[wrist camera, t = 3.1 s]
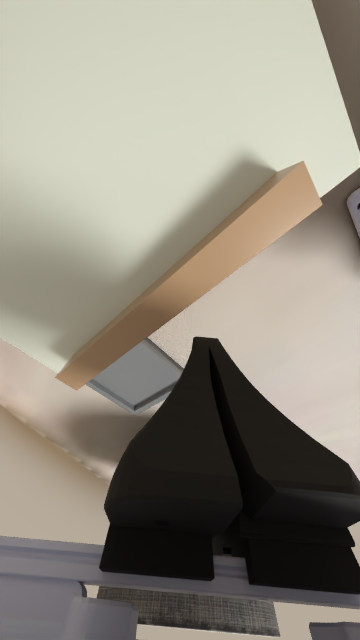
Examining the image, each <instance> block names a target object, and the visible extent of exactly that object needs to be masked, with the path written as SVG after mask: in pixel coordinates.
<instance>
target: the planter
mask: <svg viewBox="0 0 360 640" xmlns="http://www.w3.org/2000/svg"><path fill="white" fill-rule="evenodd" d="M97 599H104V600H112V601H120V602H128V603H131V604H132V606H135V607H137V608H138V611H139V614H138V622H137V625H149V626H159V627H169V628H181V629H191V630H202V631H213V632H223V633H235V634H247V635H257V636H268V637H280V633H279V628H278V623H277V618H276V614H275V609H274V604H273V601H262V600H251V599H240V598H229V597H218V596H207V595H196V594H185V593H174V592H163V591H152V590H141V589H130V588H118V587H107V586H99V590H98V594H97Z"/></svg>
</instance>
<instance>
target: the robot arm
mask: <svg viewBox="0 0 360 640" xmlns="http://www.w3.org/2000/svg"><path fill="white" fill-rule="evenodd" d="M359 203H360V188H358V189H357V190H355V191H354V192H353V193H352V194H351V195H350V196H349V197H348V199H347V206H348V209H349V211H350V214H351V217H352V219H353V222H354V224H355V227H356V230H357V232H358V235H359V237H360V208H359V209H357V206H358V204H359ZM104 509H105V512H106V515H107V517H108V519H109V522H110V526H109V530H108V533H107V537H106V541H105V545H95V544H84V543H73V542H61V541H50V540H40V539H28V538H18V537H6V536H0V640H136V629H137V622H138V614H139V611H138V608H137V607H135V606H132V604H131V603H128V602H120V601H112V600H104V599H96V598H87V591H86V588H85V586H84V585H83V584H86V585H97V586H107V587H118V588H130V589H141V590H152V591H163V592H174V593H185V594H196V595H207V596H218V597H229V598H240V599H251V600H262V601H273V602H284V603H285V602H286V603H295V604H306V605H318V606H329V607H340V608H351V609H360V566H359V564H358V562H357V560H356V558H355V556H354V554H353V552H352V549H351V547H355V542H354V540H353V538H352V536H351V534H350V532H349V530H348V528H347V527H349V526H351V525H353V524H355V523H357V522H359V521H360V481H359V480H358V478H357V476H356V475H355V473H354V472H353V470H352V469H351V467H350V466H349V464H348V463H347V462H345V461H344V460H342V459H341V458H340V457H338V456H337V455H335V454H334V453H333V452H331V451H330V450H328V449H327V448H326V447H324V446H323V445H321V444H320V443H319V442H317V441H316V440H314V439H313V438H312V437H310V436H309V435H308V434H307V433H305V432H304V431H303V430H302V429H300V428H299V427H298V426H296V425H295V424H294V423H293V422H292V421H290V420H289V419H288V418H287V417H286V416H284V415H283V414H282V413H281V412H280V411H279V410H278V409H276V408H275V407H274V406H273V405H272V404H271V403H270V402H269V401H268V400H267V399H266V398H265V397H264V396H263V395H262V394H261V393H260V392H259V391H258V390H257V389H256V388H255V387H254V386H253V385H252V384H251V383H250V382H249V381H248V379H247V378H246V377H245V376H244V375H243V373H242V372H241V371H240V370H239V368H238V367H237V366H236V364H235V363H234V362H233V360H232V359H231V358H230V356H229V355H228V353H227V352H226V351H225V349H224V348H223V346H222V344H221V343H220V341H219V340H218V339H217V338H206V337H194V338H193V344H192V351H191V354H190V356H189V359H188V361H187V364H186V366H185V368H184V370H183V372H182V374H181V376H180V378H179V380H178V381H177V383H176V385H175V386H174V388H173V389H172V391H171V392H170V394H169V395H168V397H167V398H166V400H165V401H164V403H163V404H162V405H161V407H160V408H159V409H158V410H157V412H156V413H155V414H154V416H153V417H152V418H151V419H150V421H149V422H148V423H147V424H146V425H145V426H144V427H143V429H142V430H141V431H140V432H139V433H138V434H137V435H136V436H135V437H134V439H133V440H132V441H131V442H130V443H129V445H128V447H127V449H126V451H125V452H124V454H123V456H122V458H121V460H120V462H119V464H118V466H117V468H116V470H115V472H114V475H113V478H112V480H111V483H110V486H109V490H108V493H107V497H106V500H105V504H104ZM309 629H310V633H311V636H312V639H313V640H360V623H354V622H338V623H312V622H310V624H309Z"/></svg>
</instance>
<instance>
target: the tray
mask: <svg viewBox="0 0 360 640" xmlns="http://www.w3.org/2000/svg"><path fill="white" fill-rule="evenodd" d="M183 370H184V369H183V368H182V367H181V366H180V365H179V364H177V363H176V362H175V361H174V360H173V359H172V358H170V357H169V356H168V355H167V354H166V353H165V352H163V351H162V350H161V349H160V348H159V347H158V346H156V345H155V344H154V343H153V342H152V341H151V340H149V339H148V338H146V339H144V340H143V341H142V342H140V343H139V344H138V345H136V346H135V347H134V348H132V349H131V350H130V351H128V352H127V353H126V354H124V355H123V356H122V357H120V358H119V359H118V360H116V361H115V362H114V363H112V364H111V365H110V366H108V367H107V368H106V369H104V370H103V371H102V372H101V373H99V374H98V375H97V376H95V377H94V378H93V379H91V380H90V381H89V382H87V383H86V385H87V386H89V387H90V388H92V389H94V390H95V391H97V392H98V393H100V394H102V395H103V396H105V397H106V398H108V399H110V400H111V401H113V402H114V403H116V404H118V405H119V406H121V407H122V408H124V409H125V410H127V411H129V412H130V413H132V414H133V415H137V414H139V413H141V412H142V411H144V410H146V409H148V408H150V407H152V406H153V405H155V404H157V403H159V402H161V401H163V400H164V399H166V398H167V397H168V395H169V394H170V392H171V391H172V389H173V388H174V386H175V385H176V383H177V381H178V380H179V378H180V376H181V374H182V372H183Z"/></svg>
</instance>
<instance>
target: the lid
mask: <svg viewBox="0 0 360 640" xmlns="http://www.w3.org/2000/svg"><path fill="white" fill-rule="evenodd" d="M358 168H360V152H359V149H358V145H357V142H356V139H355V136H354V133H353V130H352V126H351V123H350V120H349V117H348V114H347V111H346V108H345V104H344V101H343V98H342V95H341V92H340V89H339V86H338V82H337V79H336V76H335V73H334V70H333V67H332V63H331V60H330V57H329V54H328V51H327V48H326V45H325V41H324V38H323V35H322V32H321V29H320V26H319V23H318V19H317V16H316V13H315V10H314V7H313V4H312V0H0V338H1V339H3V340H4V341H6V342H8V343H9V344H11V345H12V346H14V347H16V348H17V349H19V350H21V351H22V352H24V353H25V354H27V355H29V356H30V357H32V358H34V359H35V360H37V361H38V362H40V363H42V364H43V365H45V366H47V367H48V368H50V369H51V370H53V371H55V372H56V373H58V375H57V376H56V377H55V378H57V379H58V380H60V381H62V382H63V383H65V384H67V385H68V386H70V387H72V388H73V389H75V390H78V389H79V388H81V387H82V386H83V385H85V384H86V383H87V382H89V381H90V380H91V379H93V378H94V377H95V376H97V375H98V374H99V373H101V372H102V371H103V370H104V369H106V368H107V367H108V366H110V365H111V364H112V363H114V362H115V361H116V360H118V359H119V358H120V357H122V356H123V355H124V354H126V353H127V352H128V351H130V350H131V349H132V348H134V347H135V346H136V345H138V344H139V343H140V342H142V341H143V340H144V339H146V338H147V337H148V336H150V335H151V334H152V333H154V332H155V331H156V330H157V329H159V328H160V327H161V326H163V325H164V324H165V323H167V322H168V321H169V320H171V319H172V318H173V317H175V316H176V315H177V314H179V313H180V312H181V311H183V310H184V309H185V308H187V307H188V306H189V305H191V304H192V303H193V302H195V301H196V300H197V299H199V298H200V297H201V296H203V295H204V294H205V293H207V292H208V291H209V290H210V289H212V288H213V287H214V286H216V285H217V284H218V283H220V282H221V281H222V280H224V279H225V278H226V277H228V276H229V275H230V274H232V273H233V272H234V271H236V270H237V269H238V268H240V267H241V266H242V265H244V264H245V263H246V262H248V261H249V260H250V259H252V258H253V257H254V256H256V255H257V254H258V253H260V252H261V251H262V250H263V249H265V248H266V247H267V246H269V245H270V244H271V243H273V242H274V241H275V240H277V239H278V238H279V237H281V236H282V235H283V234H285V233H286V232H287V231H289V230H290V229H291V228H293V227H294V226H295V225H297V224H298V223H299V222H301V221H302V220H303V219H305V218H306V217H307V216H309V215H310V214H311V213H313V212H314V211H315V210H317V209H318V208H319V207H320V206H322V205H323V204H322V202H321V199H320V198H321V197H322V196H323V195H325V194H326V193H327V192H329V191H330V190H331V189H332V188H334V187H335V186H336V185H338V184H339V183H340V182H341V181H343V180H344V179H345V178H347V177H348V176H349V175H351V174H352V173H353V172H354V171H356V170H357V169H358Z"/></svg>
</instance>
